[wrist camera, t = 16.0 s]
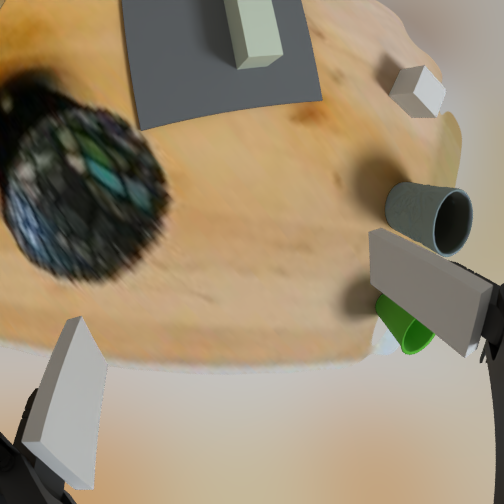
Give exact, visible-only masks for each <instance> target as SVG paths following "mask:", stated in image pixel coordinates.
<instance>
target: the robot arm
mask: <svg viewBox="0 0 504 504" xmlns="http://www.w3.org/2000/svg"><path fill="white" fill-rule="evenodd" d="M369 252H370V284H371V285H373V286H374V287H375V288H377V289H378V290H379V291H381V292H382V293H383V294H385V295H386V296H387V297H388V298H390V299H391V300H392V301H394V302H395V303H396V304H398V305H399V306H400V307H402V308H403V309H404V310H405V311H407V312H408V313H409V314H411V315H412V316H413V317H414V318H416V319H417V320H418V321H419V322H421V323H422V324H423V325H425V326H426V327H427V328H428V329H430V330H431V331H432V332H433V333H435V334H436V335H437V336H438V337H440V338H441V339H442V340H443V341H445V342H446V343H447V344H448V345H449V346H451V347H452V348H453V349H454V350H456V351H457V352H458V353H459V354H460V355H462V356H463V357H464V358H466V357H467V356H468V355H469V354H471V353H472V352H473V351H474V350H476V349H477V347H478V344H479V341H480V337H481V336H482V337H484V338H485V339H486V342H485V345H484V348H483V351H482V354H481V357H480V363H482V361H483V359H484V356H485V355H486V358H487V359H486V363H487V364H488V370H489V376H490V383H491V390H492V399H493V409H494V421H495V439H496V440H495V441H496V474H495V494H494V504H504V283H503V284H502V285H501V286H499V285H497V284H496V283H494V282H492V281H490V280H488V279H487V278H485V277H483V276H481V275H479V274H477V273H474V271H472V270H470V269H467V268H466V267H464V266H463V265H461V264H459V263H456V262H452V261H448V260H446V259H444V258H442V257H440V256H438V255H436V254H434V253H432V252H430V251H428V250H426V249H424V248H422V247H420V246H418V245H416V244H414V243H412V242H410V241H408V240H406V239H404V238H402V237H400V236H398V235H395V234H393V233H391V232H389V231H387V230H385V229H383V228H379V229H376V230H373V231H370V232H369ZM107 368H108V364H107V362H106V360H105V358H104V357H103V355H102V353H101V351H100V350H99V348H98V346H97V344H96V342H95V341H94V339H93V337H92V335H91V333H90V331H89V329H88V327H87V326H86V324H85V322H84V320H83V318H82V316H79V317H76V318H72V319H68V320H67V321H66V324H65V326H64V328H63V330H62V332H61V335H60V337H59V339H58V341H57V344H56V346H55V348H54V351H53V353H52V355H51V358H50V360H49V363H48V365H47V368H46V370H45V373H44V375H43V378H42V380H41V383H40V386H39V388H36V389H35V390H34V391H33V393H32V394H31V396H30V397H29V398H28V401H27V404H26V406H25V411H24V412H23V415H22V419H21V421H20V424H19V427H18V431H17V434H16V437H15V440H14V444H13V445H12V444H11V443H10V442H9V441H8V440H7V439H6V437H5V436H4V435H3V434H2V433H1V432H0V504H76V502H75V501H74V500H73V498H72V497H71V496H70V494H69V493H67V492H66V491H65V490H64V483H65V482H66V483H67V484H69V485H70V486H71V487H73V488H74V489H75V490H88V489H89V490H90V489H94V475H95V461H96V449H97V438H98V429H99V421H100V413H101V406H102V399H103V392H104V386H105V380H106V374H107Z"/></svg>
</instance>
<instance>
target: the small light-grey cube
mask: <svg viewBox="0 0 504 504" xmlns="http://www.w3.org/2000/svg"><path fill="white" fill-rule="evenodd" d="M445 93H446V89H445V88H444V87H443V86H442V84H441V83H440V82H439V81H438V80H437V79H436V77H435V76H434V75H433V74H432V73H431V72H430V71H429V70H428V68H427V67H426V66H425V65H423V66H418V67H412V68H407V69H402V70H400V72H399V74H398V76H397V78H396V81H395V83H394V85H393V87H392V89H391V91H390V93H389V96H390V97H391V98H392V99H393V100H394V101H395V102H396V103H397V104H398V105H399V106H400V107H401V108H402V109H403V110H404V111H405V112H406V113H407V114H408V115H409V116H410V117H411V118H437V115H438V112H439V110H440V107H441V105H442V102H443V99H444V96H445Z"/></svg>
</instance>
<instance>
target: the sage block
mask: <svg viewBox="0 0 504 504" xmlns="http://www.w3.org/2000/svg"><path fill="white" fill-rule="evenodd" d="M224 5H225V10H226V15H227V20H228V25H229V30H230V35H231V41H232V46H233V51H234V56H235V62H236V67H237V69H246V68H256V67H267V66H269V65H270V64H271V63H273V62H274V61H275V60H277V59H278V58H280V57H281V56H282V55H283V50H282V46H281V41H280V36H279V31H278V27H277V22H276V18H275V14H274V9H273V5H272V1H271V0H224Z"/></svg>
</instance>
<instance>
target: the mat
mask: <svg viewBox="0 0 504 504" xmlns="http://www.w3.org/2000/svg"><path fill="white" fill-rule="evenodd" d="M271 1H272V5H273V9H274V14H275V18H276V22H277V27H278V31H279V36H280V41H281V46H282V50H283V55H282V56H281V57H280V58H278V59H277V60H275V61H274V62H273V63H271V64H270V65H269V66H267V67H256V68H246V69H237V67H236V62H235V56H234V51H233V46H232V41H231V35H230V30H229V25H228V20H227V15H226V10H225V5H224V0H122V7H123V17H124V26H125V35H126V43H127V50H128V58H129V64H130V71H131V78H132V84H133V90H134V96H135V101H136V107H137V113H138V118H139V123H140V128H141V131H143V130H147V129H151V128H155V127H159V126H163V125H167V124H171V123H175V122H180V121H184V120H189V119H193V118H198V117H203V116H208V115H214V114H219V113H225V112H231V111H237V110H243V109H250V108H257V107H264V106H272V105H281V104H290V103H300V102H312V101H322V94H321V89H320V83H319V78H318V73H317V68H316V63H315V58H314V53H313V48H312V44H311V39H310V35H309V30H308V26H307V22H306V18H305V14H304V10H303V6H302V2H301V0H271Z"/></svg>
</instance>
